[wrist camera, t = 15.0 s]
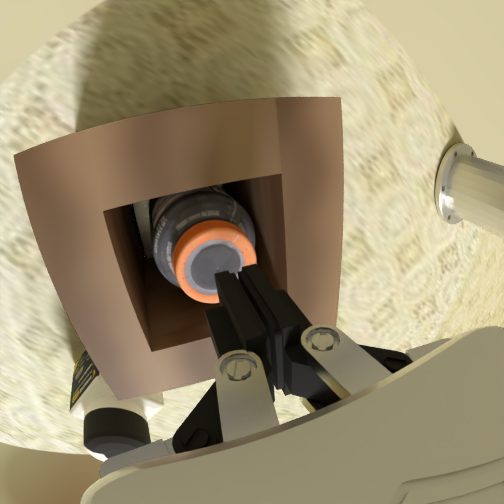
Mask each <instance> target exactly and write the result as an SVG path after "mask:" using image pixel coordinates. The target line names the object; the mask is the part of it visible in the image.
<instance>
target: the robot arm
mask: <svg viewBox="0 0 504 504" xmlns="http://www.w3.org/2000/svg"><path fill="white" fill-rule="evenodd" d="M435 201H436V207H437V211H438V214H439V216H440V217H441V219H442V220H443V221H445V222H447V223H449V224H456V223H459V222H460V221H461V220H463V219H464V220H467V221H469V222H471V223H473V224H475V225H477V226H479V227H481V228H483V229H485V230H487V231H489V232H491V233H493V234H495V235H497V236H499V237H501V238H502V239H504V166H501V165H498V164H495V163H493V162H489V161H486V160H483V159H480V158H477V157H476V154H475V152H474V150H473V149H472V148H471V147H470V146H469V145H467V144H464V143H457V144H454V145H453V146H452V147H450V149H449V150H448V151H447V152H446V154H445V156H444V157H443V160H442V162H441V164H440V167H439V171H438V174H437V179H436V187H435ZM214 276H215V282H216V287H217V293H218V298H219V303H220V306H219V307H215V308H211V309H207V310H204V311H205V316H206V320H207V324H208V328H209V332H210V336H211V339H212V342H213V345H214V348H215V351H216V354H217V357H218V360H217V362H216V364H215V370H214V371H215V380H216V381H215V382H214V383H213V385H212V386H211V387H210V389H209V390H208V391H207V392H206V394H205V395H204V396H203V398H202V399H201V400H200V402H199V403H198V404H197V405H196V407H195V408H194V409H193V411H192V412H191V413H190V414H189V416H188V417H187V418H186V419H185V421H184V422H183V423H182V425H181V426H180V427H179V428H178V430H177V431H176V433H175V434H174V436H173V437H172V438H170V439H168V440H165V441H163V440H162V439H160V440H157V441H155V442H152V443H150V444H147V445H144V446H142V447H139V448H136V449H134V450H131V451H128V452H125V453H122V454H119V455H116V456H113V457H111V458H109V459H107V460H105V461H104V463H103V464H102V465H101V467H100V471H99V474H100V479H99V480H98V481H96V482H95V483H94V484H92V485H91V486H90V487H89V488H88V489H87V490H86V491H85V493H84V495H83V497H82V499H81V502H80V504H504V328H502V327H498V326H485V327H480V328H475V329H473V330H470V331H467V332H465V333H462V334H460V335H458V336H456V337H454V338H453V339H449V338H446V339H441V340H438V341H435V342H432V343H429V344H426V345H423V346H420V347H416V348H413V349H410V350H406V353H405V354H404V353H402V352H398V351H393V350H387V349H381V348H375V347H370V346H364V345H359V344H356V343H355V342H354V341H353V340H352V339H350V338H349V337H348V336H347V335H346V334H345V333H343V332H342V331H341V330H340V329H338V328H336V327H335V326H332V325H327V324H318V325H314V326H313V325H312V324H311V323H310V321H309V320H308V319H307V318H306V316H305V315H304V314H303V312H302V311H301V310H300V309H299V307H298V306H297V305H296V304H295V302H294V301H293V300H292V298H291V297H290V296H289V295H288V293H287V292H286V291H285V290H283V289H282V290H278V291H276V290H275V289H274V287H273V286H272V285H271V283H270V282H269V281H268V279H267V278H266V276H265V275H264V274H263V272H262V271H261V270H260V268H259V267H258V266H257V264H252V265H247V266H243V267H242V271H238V278H237V276H236V275H235V273H229V271H228V270H227V271H223V272H219V273H215V274H214ZM274 386H275V387H276V389H277V390H279V389H282V390H283V392H284V394H285V396H286V395H289V394H292V395H296V396H299V397H300V400H301V402H302V404H303V405H304V406H305V407H306V408H307V410H308V411H309V412H310V414H307V415H305V416H302V417H300V418H297V419H295V420H292V421H289V422H287V423H284V424H281V425H279V421H278V418H277V414H276V411H275V407H274V404H273V403H274V401H275V396H274Z"/></svg>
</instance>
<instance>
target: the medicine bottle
mask: <svg viewBox="0 0 504 504" xmlns="http://www.w3.org/2000/svg"><path fill="white" fill-rule="evenodd" d="M163 406H164V400H163V395H162V392H159V393H154V394H150V395H145V396H140V397H135V398H130V399H125V400H120V401H118V400H117V398H116V397H115V395H114V394H113V392H112V391H111V389H110V388H109V386H108V385H107V383H106V382H105V380H104V379H103V377H102V375H101V374H100V372H99V371H98V369H97V367H96V366H95V364H94V362H93V361H92V359H91V357H90V356H89V354H88V352H87V350H85V351H84V353H83V354H82V356H81V357H80V358H79V360H78V361H77V363H76V364H75V366H74V374H73V382H72V391H71V401H70V414H71V415H73V416H75V417H77V418H80V419H82V420H84V447H85V448H86V450H87V451H88V452H89V453H90V454H91V455H92V456H93V457H95V458H97V459H99V460H102V461H105V460H107V459H109V458H111V457H113V456H116V455H119V454H122V453H125V452H128V451H131V450H134V449H136V448H139V447H142V446H144V445H147V444H150V443H151V440H150V434H149V428H148V420H149V419H150V418H151V417H152V416H153V415H155V414H156V413H157V412H158V411H159V410H160V409H161V408H162V407H163Z"/></svg>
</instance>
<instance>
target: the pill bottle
mask: <svg viewBox="0 0 504 504" xmlns="http://www.w3.org/2000/svg"><path fill="white" fill-rule="evenodd" d="M149 223H150V233H151V242H152V251H153V256H154V259H155V262H156V265H157V267H158V269H159V270H160V272H161V273H162V274H163V276H164V277H165V278H166V279H167V280H168V281H169V282H171V283H172V284H174V285H175V286H177V287H179V288H181V289H183V291H184V292H185V293H186V294H187V295H188V296H190V297H191V298H193V299H195V300H197V301H200V302H204V303H219V298H218V293H217V287H216V282H215V276H214V274H215V273H219V272H223V271H227V270H228V271H229V273H235V275H236V276H237V278H238V271H242V267H243V266H247V265H252V264H256V253H255V250H254V248H255V230H254V226H253V223H252V220H251V218H250V216H249V215H248V213H247V212H246V210H245V209H244V208H243V207H242V206H241V205H240V204H239V203H238V202H237V201H236V200H235V199H234V198H233V197H231V196H230V195H229V194H227V193H226V192H225V191H224V190H222V189H221V188H220V187H219V186H217V185H212V186H207V187H202V188H198V189H193V190H188V191H183V192H179V193H174V194H170V195H165V196H161V197H157V198H152V199H150V202H149Z"/></svg>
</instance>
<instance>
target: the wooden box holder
mask: <svg viewBox="0 0 504 504" xmlns="http://www.w3.org/2000/svg"><path fill="white" fill-rule="evenodd" d="M14 160H15V165H16V170H17V174H18V179H19V183H20V187H21V191H22V195H23V199H24V202H25V206H26V209H27V213H28V216H29V219H30V223H31V226H32V229H33V232H34V235H35V238H36V241H37V244H38V247H39V249H40V252H41V255H42V257H43V260H44V263H45V265H46V268H47V270H48V273H49V275H50V277H51V280H52V282H53V284H54V287H55V289H56V291H57V294H58V296H59V298H60V300H61V302H62V304H63V307H64V309H65V311H66V313H67V315H68V317H69V319H70V321H71V323H72V325H73V327H74V329H75V330H76V332H77V334H78V336H79V338H80V340H81V342H82V343H83V345H84V347H85V349H86V350H87V352H88V354H89V356H90V357H91V359H92V361H93V362H94V364H95V366H96V367H97V369H98V371H99V372H100V374H101V375H102V377H103V379H104V380H105V382H106V383H107V385H108V386H109V388H110V389H111V391H112V392H113V394H114V395H115V397H116V398H117V400H118V401H120V400H125V399H130V398H135V397H140V396H145V395H150V394H154V393H159V392H163V391H167V390H172V389H176V388H180V387H184V386H188V385H192V384H195V383H199V382H203V381H206V380H210V379H214V378H215V371H214V370H215V364H216V362H217V360H218V357H217V354H216V351H215V348H214V345H213V342H212V339H211V336H210V332H209V328H208V324H207V320H206V316H205V311H204V310H207V309H211V308H215V307H219V306H220V303H204V302H200V301H197V300H195V299H193V298H191V297H190V296H188V295H187V294H186V293H185V292H184V291H183V289H181V288H179V287H177V286H175V285H174V284H172V283H171V282H169V281H168V280H167V279H166V278H165V277H164V276H163V274H162V273H161V272H160V270H159V269H158V267H157V265H156V262H155V259H154V257H153V258H148V259H147V258H144V256H143V252H142V249H141V245H140V241H139V237H138V234H137V230H136V226H135V222H134V218H133V213H132V209H131V205H130V204H132V203H136V202H140V201H144V200H148V199H152V198H157V197H161V196H165V195H170V194H174V193H179V192H183V191H188V190H193V189H198V188H202V187H207V186H212V185H218V184H223V186H224V191H225V192H226V193H227V194H229V195H230V196H231V197H233V198H234V199H235V200H236V201H237V202H238V203H239V204H240V205H241V206H242V207H243V208H244V209H245V210H246V212H247V213H248V215H249V216H250V218H251V220H252V223H253V226H254V230H255V248H254V250H255V253H256V264H257V266H258V267H259V268H260V270H261V271H262V272H263V274H264V275H265V276H266V278H267V279H268V281H269V282H270V283H271V285H272V286H273V287H274V289H275V290H276V291H278V290H282V289H283V290H285V291H286V292H287V293H288V295H289V296H290V297H291V298H292V300H293V301H294V302H295V304H296V305H297V306H298V307H299V309H300V310H301V311H302V312H303V314H304V315H305V316H306V318H307V319H308V320H309V321H310V323H311V324H312V325H313V326H314V325H318V324H327V325H332V326H335V327H336V321H337V311H338V300H339V288H340V274H341V258H342V238H343V203H344V164H343V129H342V110H341V97H281V98H261V99H247V100H236V101H226V102H217V103H209V104H201V105H194V106H187V107H181V108H175V109H169V110H164V111H159V112H154V113H149V114H144V115H139V116H135V117H130V118H126V119H122V120H118V121H114V122H110V123H106V124H102V125H99V126H95V127H92V128H88V129H85V130H82V131H78V132H75V133H72V134H69V135H66V136H63V137H60V138H57V139H54V140H51V141H48V142H46V143H43V144H40V145H38V146H35V147H32V148H30V149H27V150H25V151H22V152H20V153H18V154H15V155H14Z"/></svg>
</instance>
